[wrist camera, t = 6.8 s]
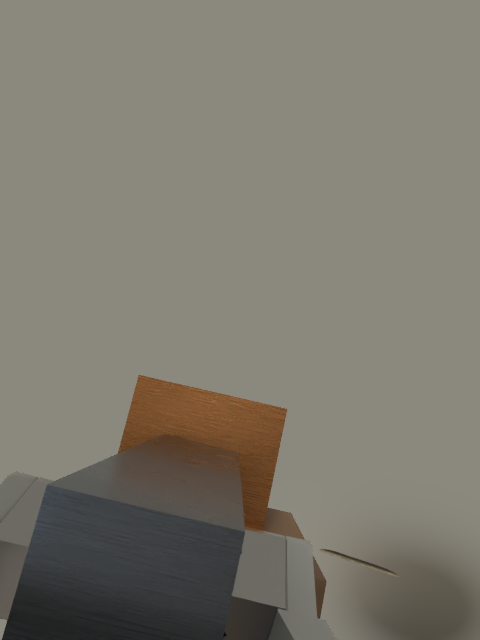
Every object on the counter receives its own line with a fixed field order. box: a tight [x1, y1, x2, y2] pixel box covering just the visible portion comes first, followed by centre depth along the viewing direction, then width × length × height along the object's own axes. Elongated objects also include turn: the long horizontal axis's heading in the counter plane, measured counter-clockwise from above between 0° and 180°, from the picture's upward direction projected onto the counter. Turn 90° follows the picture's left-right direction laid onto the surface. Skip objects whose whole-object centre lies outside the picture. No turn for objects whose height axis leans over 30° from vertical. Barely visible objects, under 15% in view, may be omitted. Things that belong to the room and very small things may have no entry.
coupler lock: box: [2, 375, 287, 640], centre depth 15 cm, size 6×17×5 cm, turn 1°
